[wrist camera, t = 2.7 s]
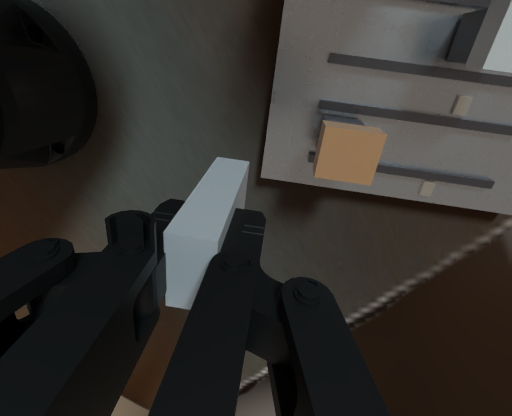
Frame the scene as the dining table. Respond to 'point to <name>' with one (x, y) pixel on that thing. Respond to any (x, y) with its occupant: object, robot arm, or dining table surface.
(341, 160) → the fader
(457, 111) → the console
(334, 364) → the robot arm
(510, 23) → the fader
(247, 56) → the dining table surface
